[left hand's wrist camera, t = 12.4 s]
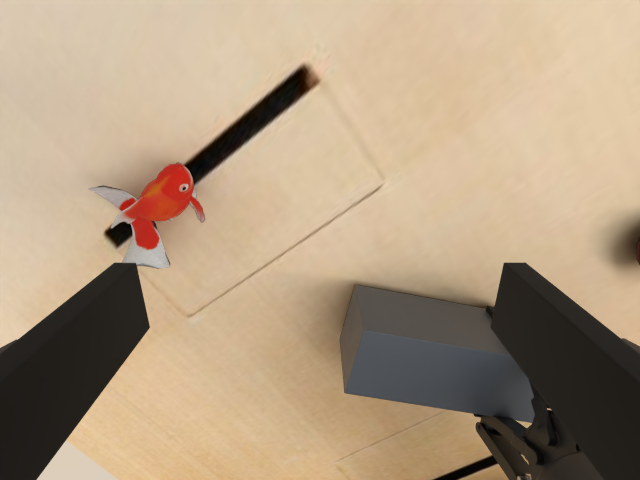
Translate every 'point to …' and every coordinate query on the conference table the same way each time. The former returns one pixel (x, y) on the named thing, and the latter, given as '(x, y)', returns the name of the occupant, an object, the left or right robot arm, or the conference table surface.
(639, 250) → the dark red ball
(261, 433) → the conference table surface
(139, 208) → the fish
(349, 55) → the conference table surface
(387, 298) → the box
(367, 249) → the conference table surface
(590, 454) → the left robot arm
